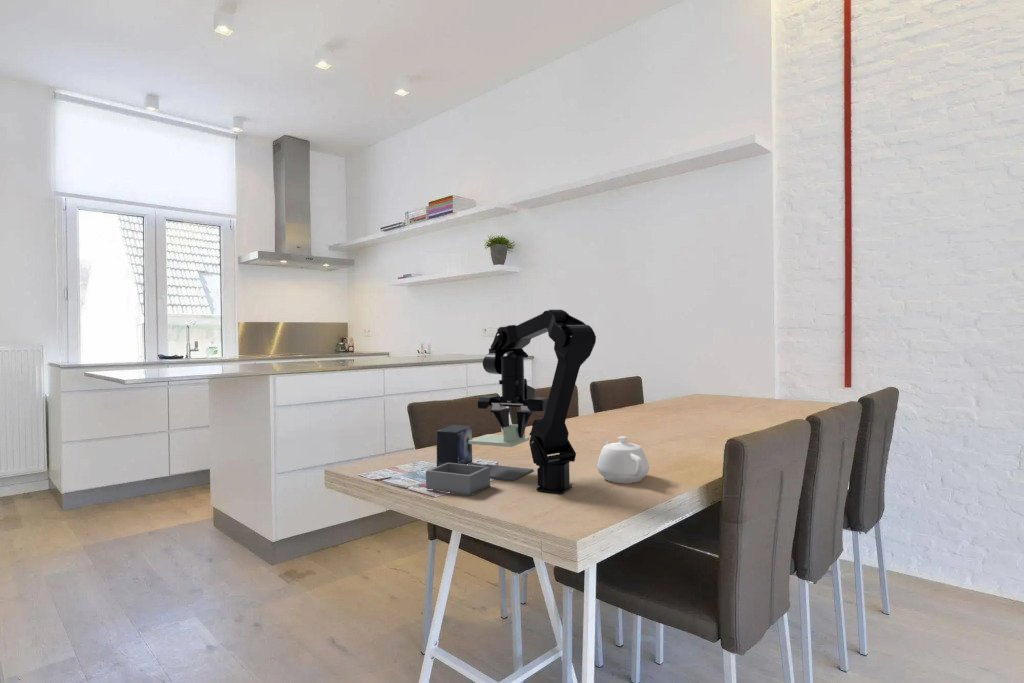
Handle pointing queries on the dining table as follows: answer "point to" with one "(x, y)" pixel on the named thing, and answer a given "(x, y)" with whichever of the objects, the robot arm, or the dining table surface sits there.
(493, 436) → the lid
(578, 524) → the dining table surface
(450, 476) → the tub
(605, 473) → the teapot
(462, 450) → the small box
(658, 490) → the dining table surface
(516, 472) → the mat
